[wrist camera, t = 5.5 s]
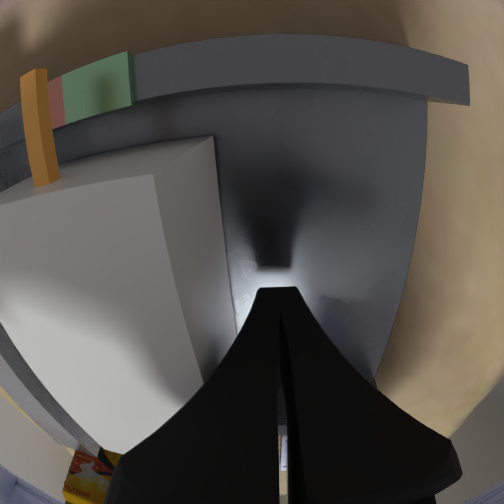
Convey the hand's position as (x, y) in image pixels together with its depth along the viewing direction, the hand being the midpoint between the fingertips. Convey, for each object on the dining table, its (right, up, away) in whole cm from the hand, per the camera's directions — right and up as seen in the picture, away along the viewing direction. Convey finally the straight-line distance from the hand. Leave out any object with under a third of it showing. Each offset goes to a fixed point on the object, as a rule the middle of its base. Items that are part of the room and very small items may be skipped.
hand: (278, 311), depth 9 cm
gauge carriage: (-5, +1, +1) cm, 5 cm away
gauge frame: (-4, +1, +2) cm, 4 cm away
